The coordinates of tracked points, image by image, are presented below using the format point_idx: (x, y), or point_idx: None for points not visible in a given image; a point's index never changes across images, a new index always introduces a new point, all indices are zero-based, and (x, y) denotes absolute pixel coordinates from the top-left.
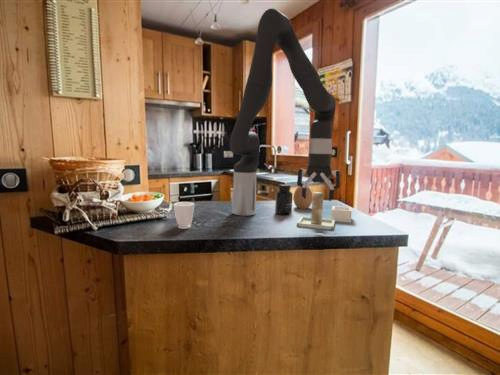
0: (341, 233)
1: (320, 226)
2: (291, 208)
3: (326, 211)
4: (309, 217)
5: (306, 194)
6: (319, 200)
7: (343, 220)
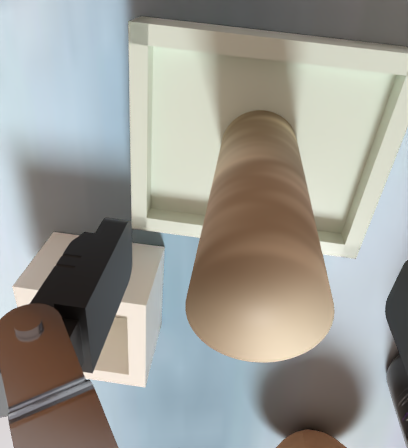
0: (81, 13)
1: (231, 32)
2: (398, 391)
3: (190, 420)
4: None
5: (400, 333)
6: (241, 207)
7: None
